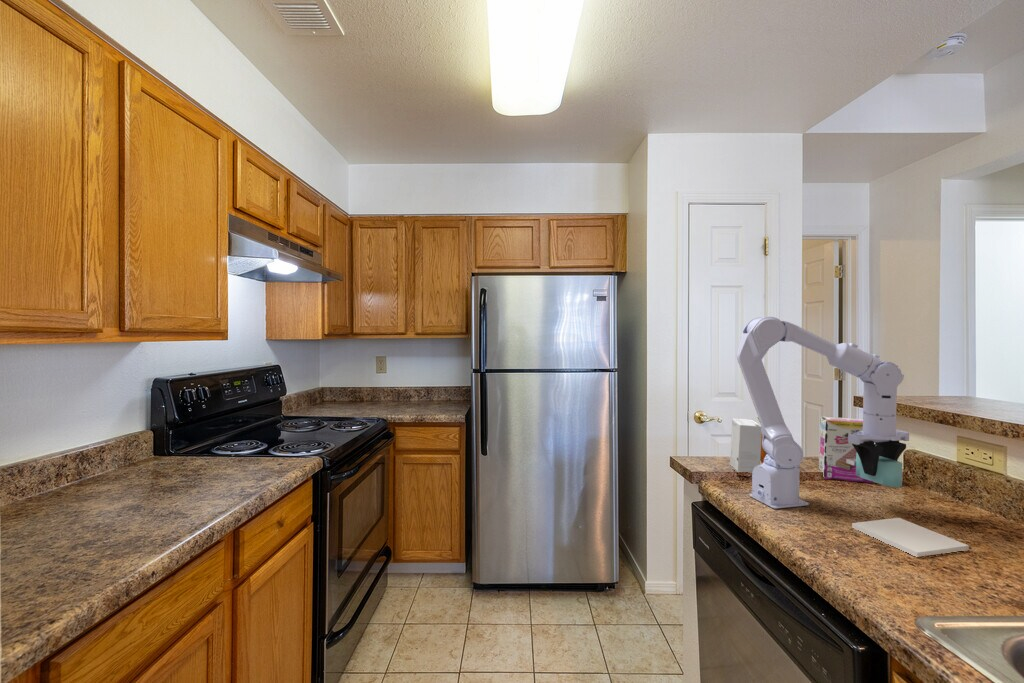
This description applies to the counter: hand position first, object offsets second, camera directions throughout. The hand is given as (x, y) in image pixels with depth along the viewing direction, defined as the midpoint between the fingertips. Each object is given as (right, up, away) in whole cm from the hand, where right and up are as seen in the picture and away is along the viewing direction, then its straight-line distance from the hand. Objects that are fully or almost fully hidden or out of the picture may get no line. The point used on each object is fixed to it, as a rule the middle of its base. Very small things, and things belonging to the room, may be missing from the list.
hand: (878, 473), depth 98 cm
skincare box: (-16, -8, +26) cm, 31 cm away
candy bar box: (+8, -8, +20) cm, 23 cm away
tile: (-5, -9, -13) cm, 17 cm away
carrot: (-7, -8, +31) cm, 33 cm away
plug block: (0, -1, 0) cm, 1 cm away
